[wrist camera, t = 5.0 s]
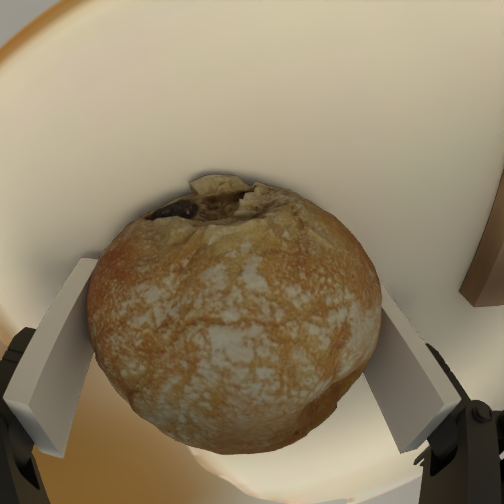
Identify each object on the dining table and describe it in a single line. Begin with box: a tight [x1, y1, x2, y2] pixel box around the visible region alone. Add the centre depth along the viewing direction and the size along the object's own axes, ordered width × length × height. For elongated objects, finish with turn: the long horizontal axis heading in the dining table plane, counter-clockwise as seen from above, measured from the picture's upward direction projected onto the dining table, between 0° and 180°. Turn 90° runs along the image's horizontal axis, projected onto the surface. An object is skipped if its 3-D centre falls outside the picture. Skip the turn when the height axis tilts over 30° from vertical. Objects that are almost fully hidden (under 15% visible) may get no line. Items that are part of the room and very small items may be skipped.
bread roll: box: [86, 174, 382, 455], centre depth 10 cm, size 10×10×8 cm
